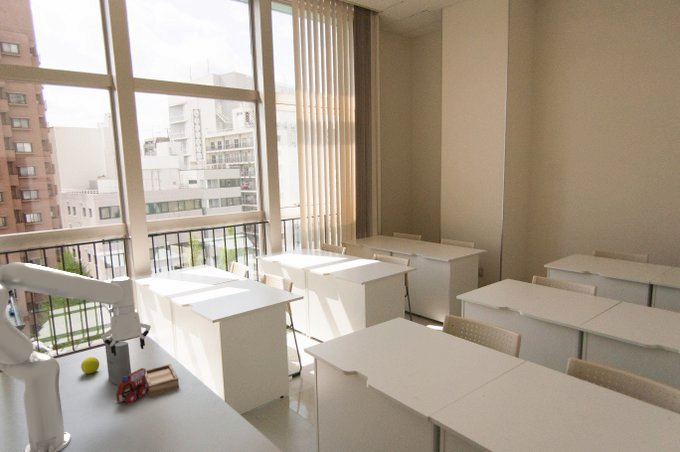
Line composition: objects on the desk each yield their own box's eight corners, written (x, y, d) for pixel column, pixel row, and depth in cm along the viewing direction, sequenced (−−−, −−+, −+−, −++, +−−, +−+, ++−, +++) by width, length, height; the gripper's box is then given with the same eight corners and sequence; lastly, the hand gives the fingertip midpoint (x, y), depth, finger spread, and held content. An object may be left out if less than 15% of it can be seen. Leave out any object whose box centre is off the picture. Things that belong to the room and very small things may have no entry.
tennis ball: (80, 372, 190) (78, 358, 189) (97, 367, 195) (96, 353, 194) (84, 377, 185) (82, 362, 184) (101, 372, 190) (100, 357, 189)
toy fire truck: (112, 403, 163) (109, 378, 162) (140, 389, 174) (138, 365, 172) (123, 408, 160) (121, 382, 158) (152, 392, 170) (149, 368, 169)
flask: (105, 378, 184) (100, 334, 182) (118, 372, 189) (114, 330, 186) (119, 388, 175) (115, 342, 172) (134, 382, 179) (129, 337, 177)
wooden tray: (179, 388, 173) (178, 378, 173) (150, 396, 167) (149, 386, 167) (171, 373, 187) (170, 363, 186) (144, 380, 181) (143, 370, 180)
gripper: (98, 316, 154) (104, 360, 157) (149, 306, 164) (154, 348, 166) (97, 311, 161) (102, 353, 163) (146, 302, 170) (151, 342, 172)
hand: (128, 351), depth 165 cm, fingers open, 9 cm apart
